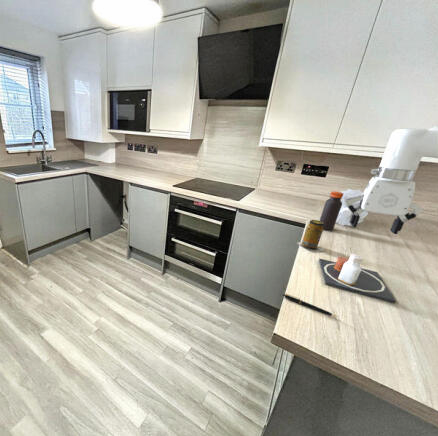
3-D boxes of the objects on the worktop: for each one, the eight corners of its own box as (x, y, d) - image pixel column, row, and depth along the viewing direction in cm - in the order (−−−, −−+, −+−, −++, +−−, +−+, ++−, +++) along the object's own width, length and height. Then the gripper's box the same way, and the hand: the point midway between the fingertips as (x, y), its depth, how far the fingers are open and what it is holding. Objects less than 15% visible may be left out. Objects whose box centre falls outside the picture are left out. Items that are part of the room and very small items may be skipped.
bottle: (316, 228, 126) (328, 192, 119) (318, 224, 131) (330, 190, 123) (331, 232, 122) (344, 195, 114) (333, 228, 126) (346, 192, 119)
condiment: (309, 242, 110) (317, 218, 106) (325, 251, 102) (334, 226, 98) (296, 243, 109) (303, 219, 104) (311, 252, 101) (319, 226, 97)
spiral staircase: (329, 230, 134) (335, 217, 151) (371, 227, 121) (372, 213, 138) (321, 200, 132) (328, 190, 149) (363, 193, 119) (365, 183, 136)
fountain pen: (338, 317, 66) (339, 313, 66) (337, 320, 65) (339, 316, 65) (281, 295, 74) (282, 291, 74) (280, 297, 73) (282, 293, 73)
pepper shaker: (356, 281, 80) (366, 257, 77) (350, 285, 78) (361, 260, 75) (342, 275, 84) (352, 252, 80) (337, 278, 82) (346, 255, 78)
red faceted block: (347, 267, 88) (351, 258, 87) (350, 273, 85) (354, 264, 83) (333, 264, 90) (336, 255, 89) (335, 270, 87) (339, 260, 85)
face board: (376, 274, 87) (377, 271, 87) (395, 303, 72) (396, 300, 72) (318, 260, 95) (319, 258, 95) (324, 284, 80) (325, 281, 80)
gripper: (359, 173, 68) (340, 227, 74) (445, 180, 60) (416, 240, 67) (353, 169, 74) (336, 220, 80) (430, 175, 66) (405, 230, 73)
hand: (372, 229), depth 73 cm, fingers open, 9 cm apart
